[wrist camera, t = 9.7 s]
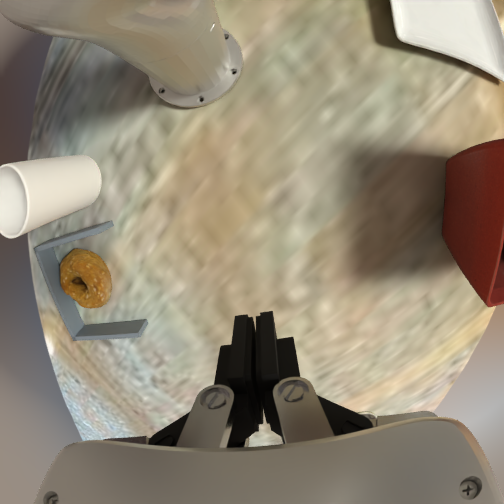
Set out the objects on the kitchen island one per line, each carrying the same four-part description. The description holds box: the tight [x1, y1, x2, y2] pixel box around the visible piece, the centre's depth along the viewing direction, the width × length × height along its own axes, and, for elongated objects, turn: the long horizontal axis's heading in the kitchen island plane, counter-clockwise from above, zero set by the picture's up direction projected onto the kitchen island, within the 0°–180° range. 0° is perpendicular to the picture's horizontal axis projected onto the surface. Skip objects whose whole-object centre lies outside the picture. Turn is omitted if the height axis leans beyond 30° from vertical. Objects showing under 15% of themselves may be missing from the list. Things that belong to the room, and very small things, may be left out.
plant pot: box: [442, 139, 504, 307], centre depth 28 cm, size 19×19×17 cm
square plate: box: [390, 0, 504, 82], centre depth 22 cm, size 27×27×4 cm
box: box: [34, 221, 148, 341], centre depth 40 cm, size 18×15×4 cm
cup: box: [0, 155, 101, 238], centre depth 28 cm, size 8×8×16 cm
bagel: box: [60, 249, 112, 308], centre depth 39 cm, size 10×11×5 cm
